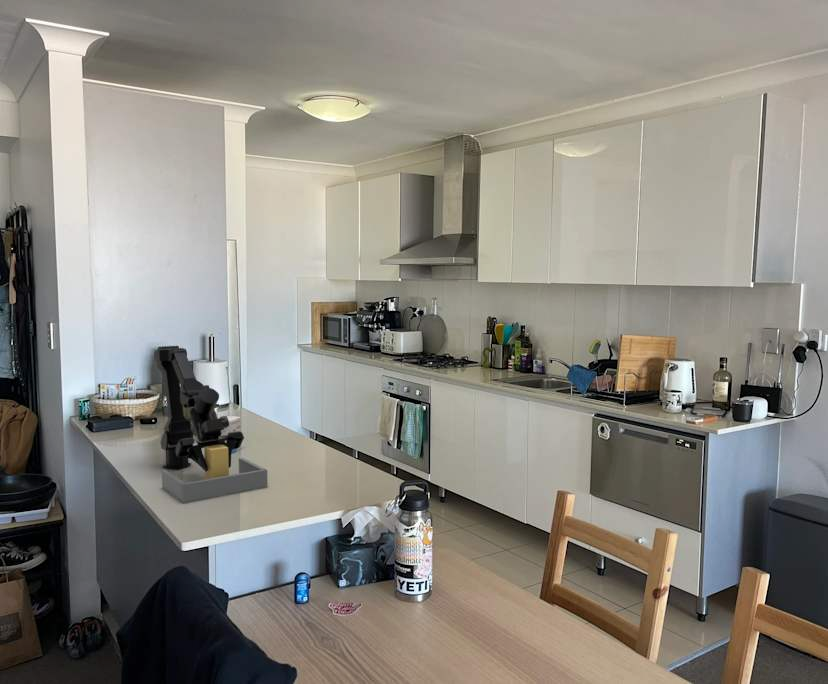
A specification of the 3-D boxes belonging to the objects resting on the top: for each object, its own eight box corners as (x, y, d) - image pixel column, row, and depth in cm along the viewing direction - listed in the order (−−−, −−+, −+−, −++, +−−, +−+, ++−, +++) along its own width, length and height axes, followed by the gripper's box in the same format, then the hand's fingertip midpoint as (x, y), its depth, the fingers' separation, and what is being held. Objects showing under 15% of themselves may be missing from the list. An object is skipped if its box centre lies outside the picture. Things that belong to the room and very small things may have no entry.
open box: (162, 491, 198) (161, 470, 198) (242, 476, 213) (242, 457, 212) (183, 506, 185) (182, 484, 184) (267, 490, 199) (267, 469, 199)
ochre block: (205, 488, 198) (204, 446, 197) (222, 484, 201) (221, 444, 200) (212, 492, 194) (211, 450, 193) (229, 489, 197) (228, 447, 196)
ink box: (231, 454, 241) (230, 420, 240) (218, 453, 242) (217, 420, 241) (242, 448, 249) (241, 416, 248) (229, 447, 250) (228, 415, 249)
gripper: (177, 411, 193) (192, 458, 185) (240, 404, 204) (257, 448, 197) (169, 433, 200) (183, 480, 192) (230, 425, 211) (246, 469, 204)
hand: (218, 468), depth 196 cm, fingers open, 6 cm apart
